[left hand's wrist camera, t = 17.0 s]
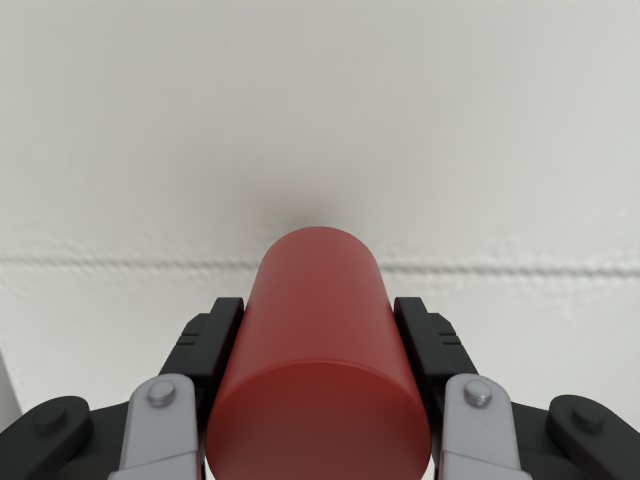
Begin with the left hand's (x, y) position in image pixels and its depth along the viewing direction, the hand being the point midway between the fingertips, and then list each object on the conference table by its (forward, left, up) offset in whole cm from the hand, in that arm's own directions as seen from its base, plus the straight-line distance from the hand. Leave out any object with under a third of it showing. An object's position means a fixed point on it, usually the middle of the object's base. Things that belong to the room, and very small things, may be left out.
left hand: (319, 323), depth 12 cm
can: (0, 0, -3) cm, 3 cm away
